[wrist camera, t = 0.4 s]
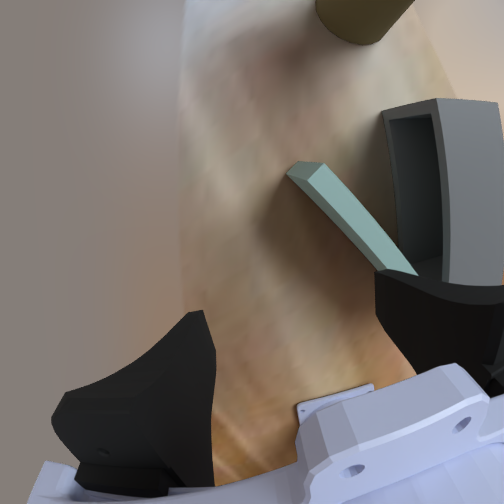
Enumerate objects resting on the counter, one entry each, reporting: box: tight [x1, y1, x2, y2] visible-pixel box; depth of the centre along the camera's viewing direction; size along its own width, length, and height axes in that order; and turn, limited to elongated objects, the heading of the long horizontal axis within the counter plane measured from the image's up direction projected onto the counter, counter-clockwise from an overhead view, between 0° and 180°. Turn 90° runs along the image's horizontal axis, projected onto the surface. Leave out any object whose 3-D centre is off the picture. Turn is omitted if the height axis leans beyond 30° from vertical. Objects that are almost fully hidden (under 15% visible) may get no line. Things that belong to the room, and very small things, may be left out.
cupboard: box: [382, 98, 504, 286], centre depth 18 cm, size 13×6×7 cm, turn 12°
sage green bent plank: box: [286, 161, 418, 276], centre depth 18 cm, size 12×1×6 cm, turn 47°
